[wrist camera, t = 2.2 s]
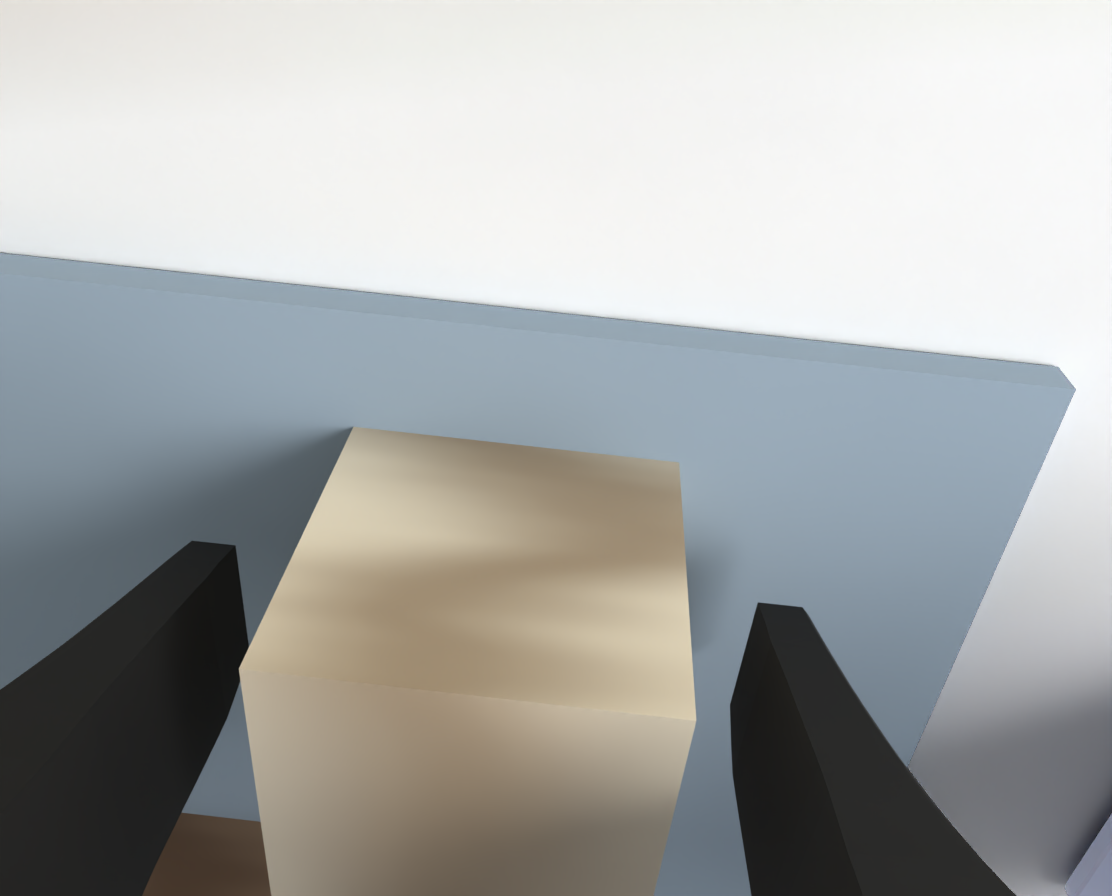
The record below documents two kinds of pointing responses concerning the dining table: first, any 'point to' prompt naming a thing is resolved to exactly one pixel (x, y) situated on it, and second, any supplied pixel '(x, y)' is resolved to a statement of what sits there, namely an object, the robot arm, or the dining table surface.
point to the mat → (522, 419)
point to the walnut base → (211, 859)
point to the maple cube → (475, 675)
